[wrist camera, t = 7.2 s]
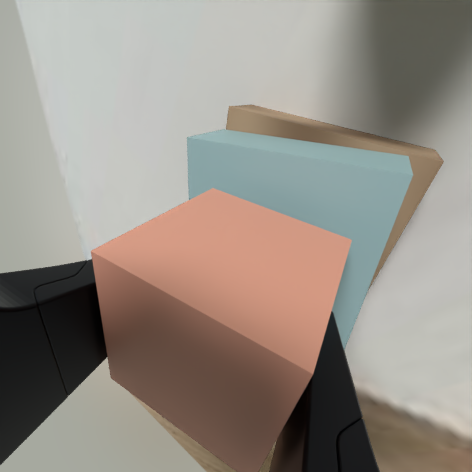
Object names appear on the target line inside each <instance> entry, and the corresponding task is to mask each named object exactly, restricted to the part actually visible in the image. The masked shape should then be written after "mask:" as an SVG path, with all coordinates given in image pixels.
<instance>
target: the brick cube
mask: <svg viewBox="0 0 472 472" xmlns="http://www.w3.org/2000/svg"><path fill="white" fill-rule="evenodd" d="M351 242H352V240H351V239H349V238H346V237H343V236H340V235H338V234H335V233H332V232H330V231H327V230H324V229H322V228H319V227H316V226H314V225H311V224H308V223H306V222H303V221H300V220H298V219H295V218H292V217H289V216H287V215H284V214H281V213H279V212H276V211H273V210H271V209H268V208H265V207H263V206H260V205H257V204H255V203H252V202H249V201H246V200H244V199H241V198H238V197H236V196H233V195H230V194H228V193H225V192H222V191H220V190H217V189H214V188H212V189H210V190H208V191H206V192H204V193H202V194H200V195H198V196H196V197H194V198H192V199H191V200H189V201H187V202H185V203H183V204H181V205H179V206H177V207H175V208H173V209H171V210H169V211H167V212H165V213H163V214H161V215H160V216H158V217H156V218H154V219H152V220H150V221H148V222H146V223H144V224H142V225H140V226H138V227H136V228H134V229H132V230H130V231H129V232H127V233H125V234H123V235H121V236H119V237H117V238H115V239H113V240H111V241H109V242H107V243H105V244H103V245H101V246H99V247H98V248H96V249H94V250H92V251H91V255H92V261H93V267H94V274H95V280H96V287H97V293H98V299H99V306H100V312H101V318H102V325H103V331H104V337H105V344H106V350H107V357H108V363H109V369H110V375H111V378H112V379H113V380H114V381H116V382H117V383H118V384H120V385H121V386H122V387H124V388H125V389H126V390H128V391H129V392H130V393H132V394H133V395H134V396H136V397H137V398H138V399H140V400H141V401H142V402H144V403H145V404H147V405H148V406H149V407H151V408H152V409H153V410H155V411H156V412H157V413H159V414H160V415H161V416H163V417H164V418H165V419H167V420H168V421H169V422H171V423H172V424H173V425H175V426H176V427H177V428H179V429H180V430H181V431H183V432H184V433H186V434H187V435H188V436H190V437H191V438H192V439H194V440H195V441H196V442H198V443H199V444H200V445H202V446H203V447H204V448H206V449H207V450H208V451H210V452H211V453H212V454H214V455H215V456H216V457H218V458H219V459H221V460H222V461H223V462H225V463H226V464H227V465H229V466H230V467H231V468H233V469H234V470H235V471H237V472H259V470H260V468H261V466H262V465H263V463H264V461H265V459H266V457H267V456H268V454H269V452H270V450H271V449H272V447H273V445H274V443H275V441H276V440H277V438H278V436H279V434H280V432H281V431H282V429H283V427H284V425H285V424H286V422H287V420H288V418H289V416H290V415H291V413H292V411H293V409H294V408H295V406H296V404H297V402H298V400H299V399H300V397H301V395H302V393H303V391H304V390H305V388H306V386H307V384H308V383H309V381H310V379H311V377H312V375H313V373H314V370H315V366H316V363H317V359H318V356H319V352H320V349H321V345H322V342H323V339H324V335H325V332H326V328H327V325H328V321H329V318H330V314H331V311H332V307H333V304H334V300H335V297H336V294H337V290H338V287H339V283H340V280H341V276H342V273H343V269H344V266H345V262H346V259H347V255H348V252H349V249H350V245H351Z"/></svg>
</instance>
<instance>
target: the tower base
mask: <svg viewBox="0 0 472 472" xmlns="http://www.w3.org/2000/svg"><path fill="white" fill-rule="evenodd" d="M226 130H232V131H239V132H246V133H253V134H260V135H267V136H274V137H281V138H288V139H295V140H302V141H308V142H315V143H322V144H329V145H336V146H343V147H350V148H357V149H364V150H371V151H378V152H385V153H392V154H398V155H405V156H409V160H410V164H411V168H412V172H413V177H412V179H411V182H410V184H409V187H408V189H407V192H406V194H405V197H404V200H403V202H402V205H401V207H400V210H399V212H398V215H397V217H396V220H395V222H394V225H393V227H392V230H391V233H390V235H389V238H388V240H387V243H386V245H385V248H384V250H383V253H382V255H381V258H380V260H379V263H378V266H377V268H376V271H375V273H374V276H373V278H372V281H371V283H370V286H371V285H372V283H373V281H374V279H375V278H376V276H377V274H378V273H379V271H380V269H381V268H382V266H383V264H384V262H385V261H386V259H387V257H388V256H389V254H390V252H391V251H392V249H393V247H394V245H395V244H396V242H397V240H398V239H399V237H400V235H401V233H402V232H403V230H404V228H405V227H406V225H407V223H408V222H409V220H410V218H411V216H412V215H413V213H414V211H415V210H416V208H417V206H418V205H419V203H420V201H421V199H422V198H423V196H424V194H425V193H426V191H427V189H428V188H429V186H430V184H431V182H432V181H433V179H434V177H435V176H436V174H437V172H438V171H439V169H440V167H441V165H442V164H443V162H444V161H443V160H442V158H441V157H440V156H439V154H438V153H437V152H436V150H433V149H429V148H425V147H421V146H417V145H413V144H409V143H405V142H401V141H397V140H393V139H388V138H384V137H380V136H376V135H372V134H368V133H364V132H360V131H356V130H352V129H348V128H344V127H340V126H336V125H332V124H328V123H324V122H320V121H316V120H312V119H307V118H303V117H299V116H295V115H291V114H287V113H283V112H279V111H275V110H271V109H267V108H263V107H259V106H255V105H241V106H229V111H228V118H227V125H226ZM370 286H369V288H370ZM369 288H368V290H369Z"/></svg>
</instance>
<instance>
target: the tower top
mask: <svg viewBox="0 0 472 472" xmlns="http://www.w3.org/2000/svg"><path fill="white" fill-rule="evenodd" d="M187 152H188V186H189V200H191V199H192V198H194V197H196V196H198V195H200V194H202V193H204V192H206V191H208V190H210V189H212V188H214V189H217V190H220V191H222V192H225V193H228V194H230V195H233V196H236V197H238V198H241V199H244V200H246V201H249V202H252V203H255V204H257V205H260V206H263V207H265V208H268V209H271V210H273V211H276V212H279V213H281V214H284V215H287V216H289V217H292V218H295V219H298V220H300V221H303V222H306V223H308V224H311V225H314V226H316V227H319V228H322V229H324V230H327V231H330V232H332V233H335V234H338V235H340V236H343V237H346V238H349V239H351V240H352V242H351V245H350V249H349V252H348V255H347V259H346V262H345V266H344V269H343V273H342V276H341V280H340V283H339V287H338V290H337V294H336V297H335V300H334V304H333V307H332V311H333V313H334V316H335V320H336V323H337V327H338V330H339V334H340V337H341V341H342V344H343V348H344V349H345V347H346V344H347V342H348V339H349V337H350V334H351V332H352V329H353V326H354V324H355V321H356V319H357V316H358V314H359V311H360V309H361V306H362V304H363V301H364V299H365V296H366V293H367V291H368V288H369V286H370V283H371V281H372V278H373V276H374V273H375V271H376V268H377V266H378V263H379V260H380V258H381V255H382V253H383V250H384V248H385V245H386V243H387V240H388V238H389V235H390V233H391V230H392V227H393V225H394V222H395V220H396V217H397V215H398V212H399V210H400V207H401V205H402V202H403V200H404V197H405V194H406V192H407V189H408V187H409V184H410V182H411V179H412V177H413V172H412V168H411V164H410V160H409V156H405V155H398V154H392V153H385V152H378V151H371V150H364V149H357V148H350V147H343V146H336V145H329V144H322V143H315V142H308V141H302V140H295V139H288V138H281V137H274V136H267V135H260V134H253V133H246V132H239V131H232V130H225V129H223V130H218V131H214V132H209V133H204V134H200V135H195V136H191V137H187Z"/></svg>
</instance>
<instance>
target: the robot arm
mask: <svg viewBox="0 0 472 472" xmlns="http://www.w3.org/2000/svg"><path fill="white" fill-rule="evenodd" d="M106 357H107V350H106V344H105V337H104V331H103V325H102V318H101V312H100V306H99V299H98V293H97V287H96V280H95V274H94V267H93V261H92V259H91V260H88V261H87V260H85V261H80V262H75V263H70V264H64V265H59V266H52V267H45V268H38V269H30V270H23V271H15V272H8V273H0V465H1V464H2V463H3V462H4V461H5V460H6V459H7V458H8V457H9V456H10V455H11V454H12V453H13V452H14V451H15V450H16V449H17V448H18V447H19V446H20V445H21V444H22V443H23V442H24V441H25V440H26V439H27V437H29V436H30V435H31V434H32V433H33V432H34V431H35V430H36V429H37V427H39V426H40V425H41V423H43V422H44V420H45V419H46V418H47V417H48V416H49V415H50V414H51V413H52V412H53V411H54V410H55V409H56V408H57V407H58V406H59V405H60V404H61V403H62V402H63V401H64V400H65V399H66V398H67V397H68V396H69V395H70V394H71V393H72V392H73V391H74V390H75V389H76V388H77V387H78V386H79V385H80V384H81V383H82V382H83V381H84V380H85V379H86V378H87V377H88V376H89V375H90V374H91V373H92V372H93V371H94V370H95V369H96V368H97V367H98V366H99V365H100V364H101V363H102V362H103V361H104V360H105V359H106ZM362 418H363V415H362V412H361V408H360V405H359V401H358V398H357V394H356V391H355V387H354V383H353V380H352V376H351V373H350V369H349V366H348V362H347V359H346V355H345V352H344V348H343V344H342V341H341V337H340V334H339V330H338V327H337V323H336V320H335V316H334V313H333V311H331V314H330V318H329V321H328V325H327V328H326V332H325V335H324V339H323V342H322V345H321V349H320V352H319V356H318V359H317V363H316V366H315V370H314V373H313V375H312V377H311V379H310V381H309V383H308V384H307V386H306V388H305V390H304V391H303V393H302V395H301V397H300V399H299V400H298V402H297V404H296V406H295V408H294V409H293V411H292V413H291V415H290V416H289V418H288V420H287V422H286V424H285V425H284V427H283V429H282V431H281V432H280V434H279V436H278V438H277V442H276V446H275V450H274V454H273V458H272V462H271V466H270V471H269V472H380V471H379V468H378V465H377V462H376V459H375V456H374V453H373V449H372V446H371V443H370V440H369V437H368V433H367V429H366V426H365V422H364V420H363V419H362Z"/></svg>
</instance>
